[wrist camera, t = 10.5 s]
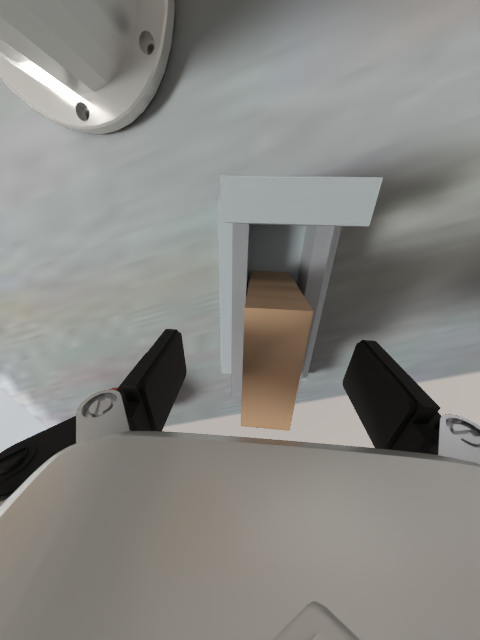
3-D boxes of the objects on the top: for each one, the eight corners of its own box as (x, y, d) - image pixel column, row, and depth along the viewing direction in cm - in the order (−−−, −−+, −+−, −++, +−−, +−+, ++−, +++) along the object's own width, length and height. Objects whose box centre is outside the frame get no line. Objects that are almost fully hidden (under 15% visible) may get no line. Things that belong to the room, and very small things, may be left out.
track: (219, 199, 15) (181, 175, 8) (342, 202, 14) (427, 177, 7) (222, 366, 22) (204, 436, 15) (304, 373, 21) (327, 449, 14)
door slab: (251, 270, 16) (244, 307, 9) (288, 272, 16) (313, 311, 8) (247, 351, 19) (240, 426, 12) (278, 354, 19) (289, 430, 12)
